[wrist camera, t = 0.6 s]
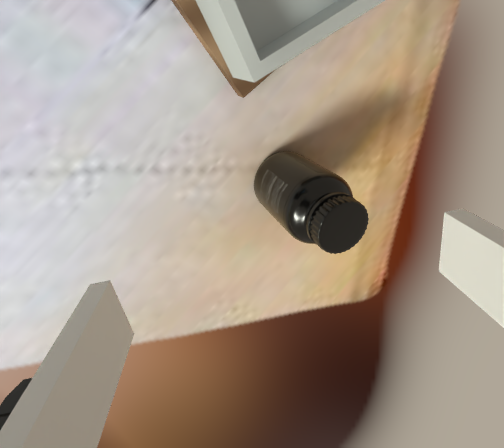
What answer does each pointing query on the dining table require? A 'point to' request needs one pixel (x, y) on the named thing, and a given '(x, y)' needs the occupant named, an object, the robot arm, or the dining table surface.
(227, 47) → the grey square open box
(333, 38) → the dining table surface
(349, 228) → the supplement bottle
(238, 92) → the walnut plinth
